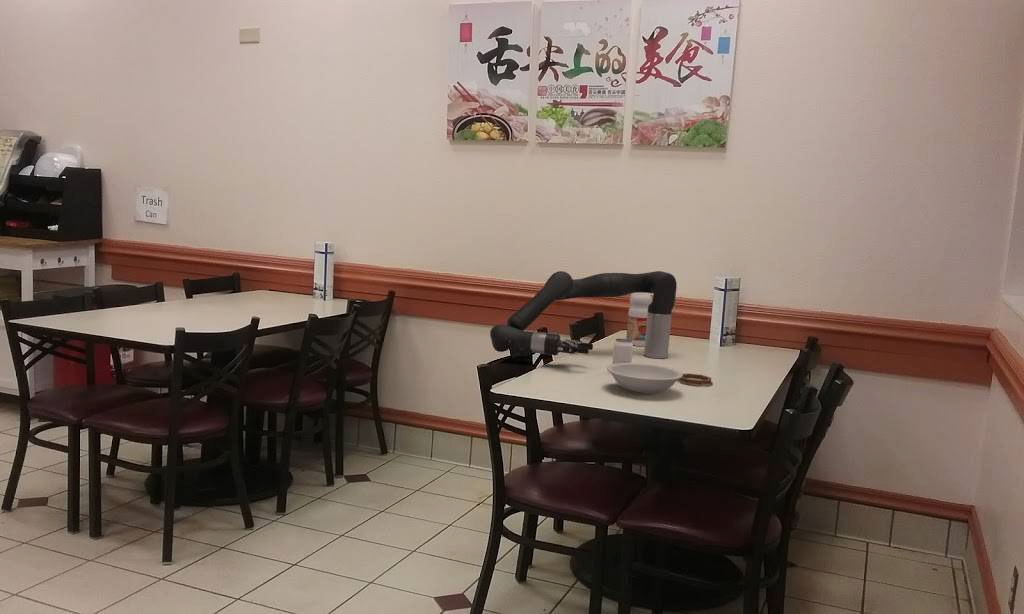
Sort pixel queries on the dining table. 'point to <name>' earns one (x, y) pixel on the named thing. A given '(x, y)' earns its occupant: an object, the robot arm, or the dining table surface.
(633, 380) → the soup bowl
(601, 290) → the robot arm
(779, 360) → the dining table surface
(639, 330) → the fruit juice
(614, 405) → the dining table surface
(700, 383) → the octagonal wooden coaster
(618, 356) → the can
